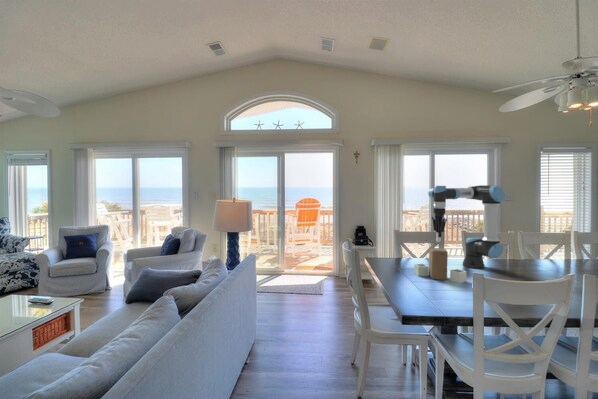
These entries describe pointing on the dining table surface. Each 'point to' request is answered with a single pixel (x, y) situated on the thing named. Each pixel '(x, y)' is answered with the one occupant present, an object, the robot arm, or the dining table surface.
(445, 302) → the dining table surface
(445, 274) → the wooden block
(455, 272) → the cream labelled cube
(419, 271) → the sage labelled cube
